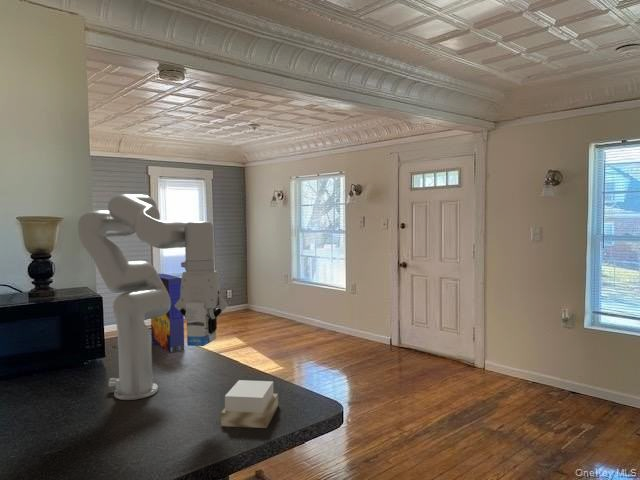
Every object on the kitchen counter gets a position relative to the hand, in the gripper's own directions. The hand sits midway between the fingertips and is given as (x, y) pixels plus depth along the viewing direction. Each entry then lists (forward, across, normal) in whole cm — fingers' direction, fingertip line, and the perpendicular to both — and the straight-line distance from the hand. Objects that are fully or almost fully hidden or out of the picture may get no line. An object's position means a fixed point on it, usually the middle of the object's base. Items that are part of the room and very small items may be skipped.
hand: (202, 331), depth 126 cm
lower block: (+23, +13, 0) cm, 27 cm away
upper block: (+19, +13, -1) cm, 23 cm away
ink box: (+3, 0, 0) cm, 3 cm away
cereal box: (+22, -41, +64) cm, 79 cm away
